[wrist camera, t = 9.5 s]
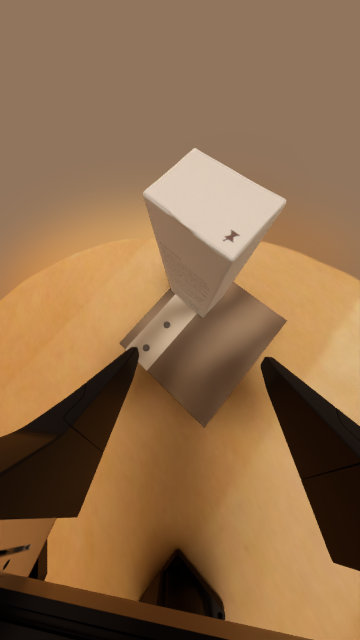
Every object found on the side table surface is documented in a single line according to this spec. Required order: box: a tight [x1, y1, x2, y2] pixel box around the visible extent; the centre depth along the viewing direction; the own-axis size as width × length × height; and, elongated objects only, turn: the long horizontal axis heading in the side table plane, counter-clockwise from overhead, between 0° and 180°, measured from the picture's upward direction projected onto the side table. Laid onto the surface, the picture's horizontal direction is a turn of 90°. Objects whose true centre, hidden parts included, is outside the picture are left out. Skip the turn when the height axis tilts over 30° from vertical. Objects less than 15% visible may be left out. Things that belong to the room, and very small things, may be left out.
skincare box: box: [143, 148, 286, 318], centre depth 12 cm, size 6×4×12 cm
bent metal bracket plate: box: [120, 282, 287, 427], centre depth 18 cm, size 14×16×2 cm
